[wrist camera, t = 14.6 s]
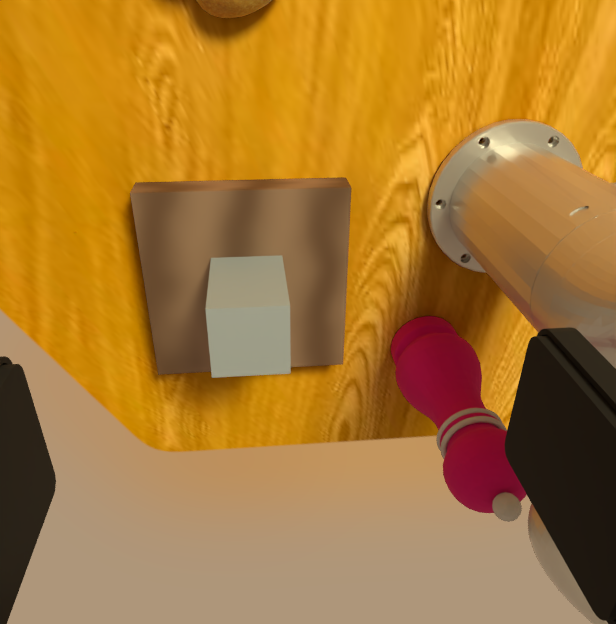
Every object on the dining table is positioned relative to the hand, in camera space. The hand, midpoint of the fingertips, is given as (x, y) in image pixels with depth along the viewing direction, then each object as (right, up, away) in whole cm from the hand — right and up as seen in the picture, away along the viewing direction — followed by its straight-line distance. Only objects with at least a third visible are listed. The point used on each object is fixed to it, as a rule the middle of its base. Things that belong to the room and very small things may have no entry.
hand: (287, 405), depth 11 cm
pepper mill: (+11, -1, +42) cm, 44 cm away
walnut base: (-5, +5, +36) cm, 37 cm away
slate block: (-4, +4, +34) cm, 35 cm away
